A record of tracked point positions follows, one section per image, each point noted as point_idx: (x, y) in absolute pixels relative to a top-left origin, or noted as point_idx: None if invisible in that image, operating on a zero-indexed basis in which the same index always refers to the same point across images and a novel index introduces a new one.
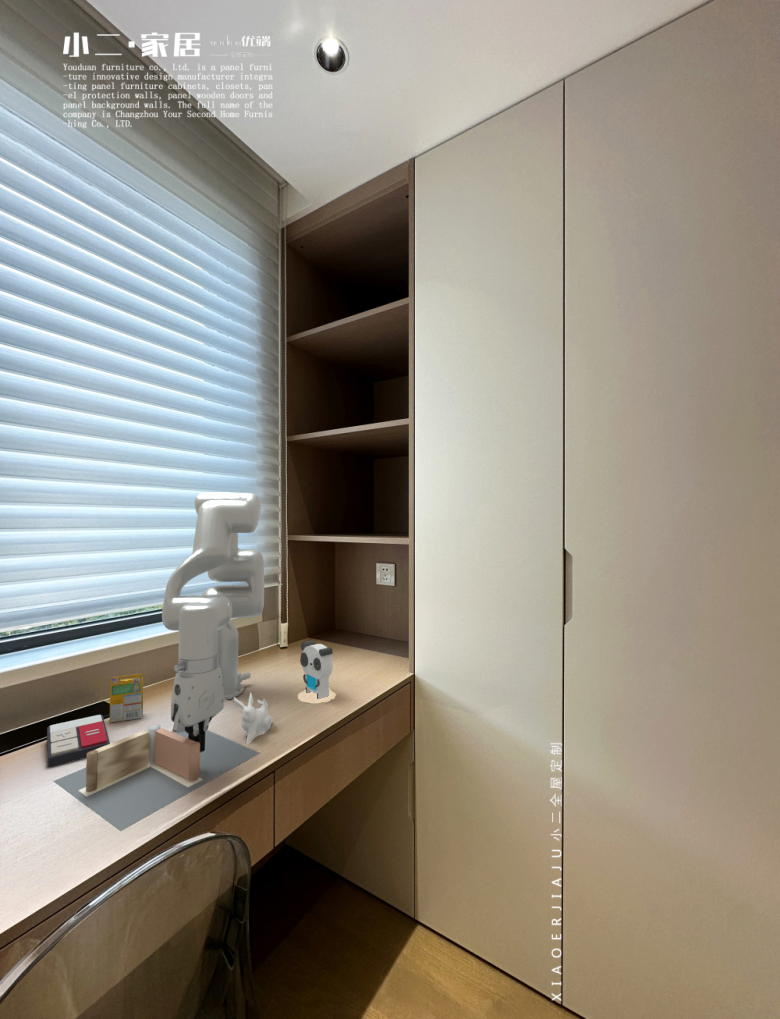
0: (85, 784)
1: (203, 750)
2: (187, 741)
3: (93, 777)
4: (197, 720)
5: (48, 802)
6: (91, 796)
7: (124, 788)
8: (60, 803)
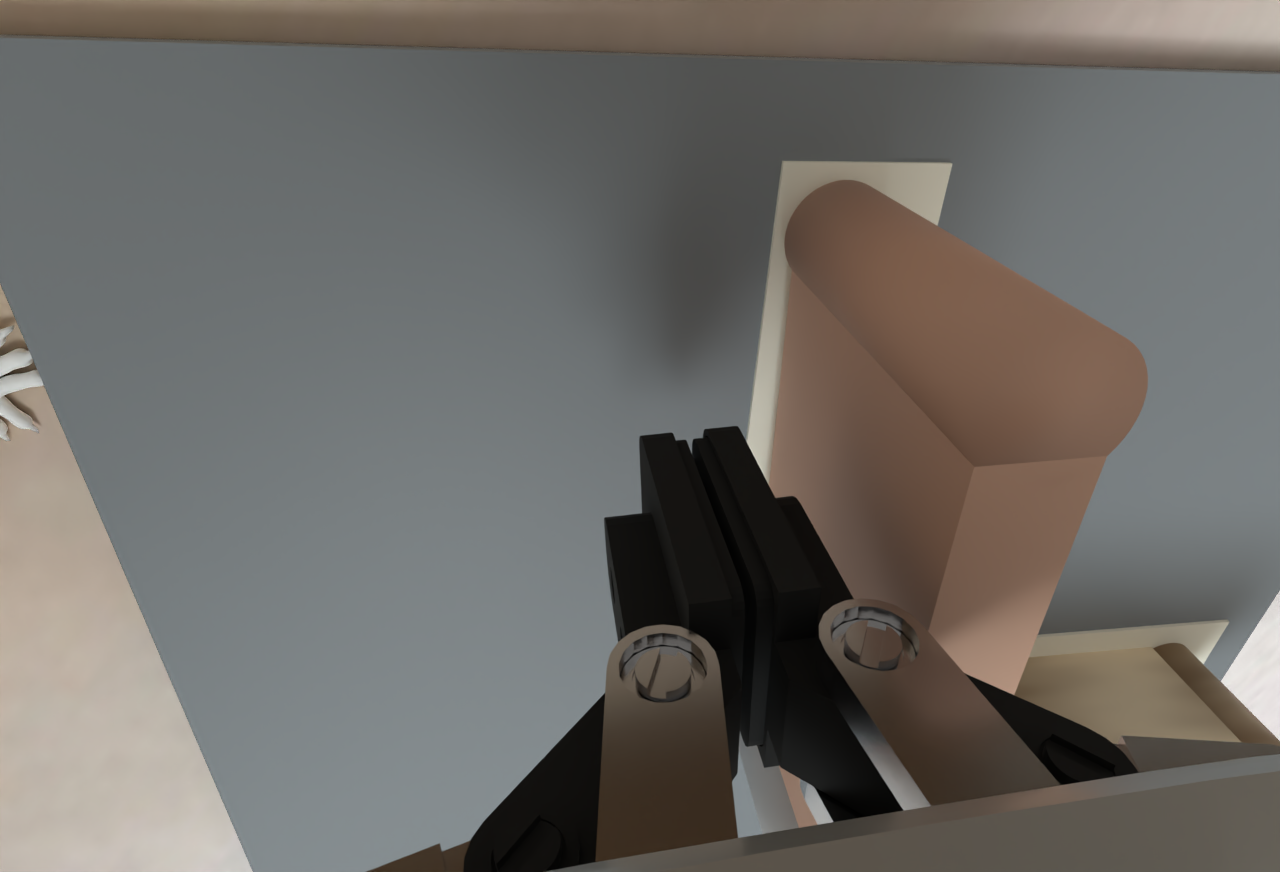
0: None
1: (666, 433)
2: (1000, 570)
3: (1247, 714)
4: (1273, 845)
5: (1253, 702)
6: (1221, 604)
7: (1100, 548)
8: (1254, 662)
